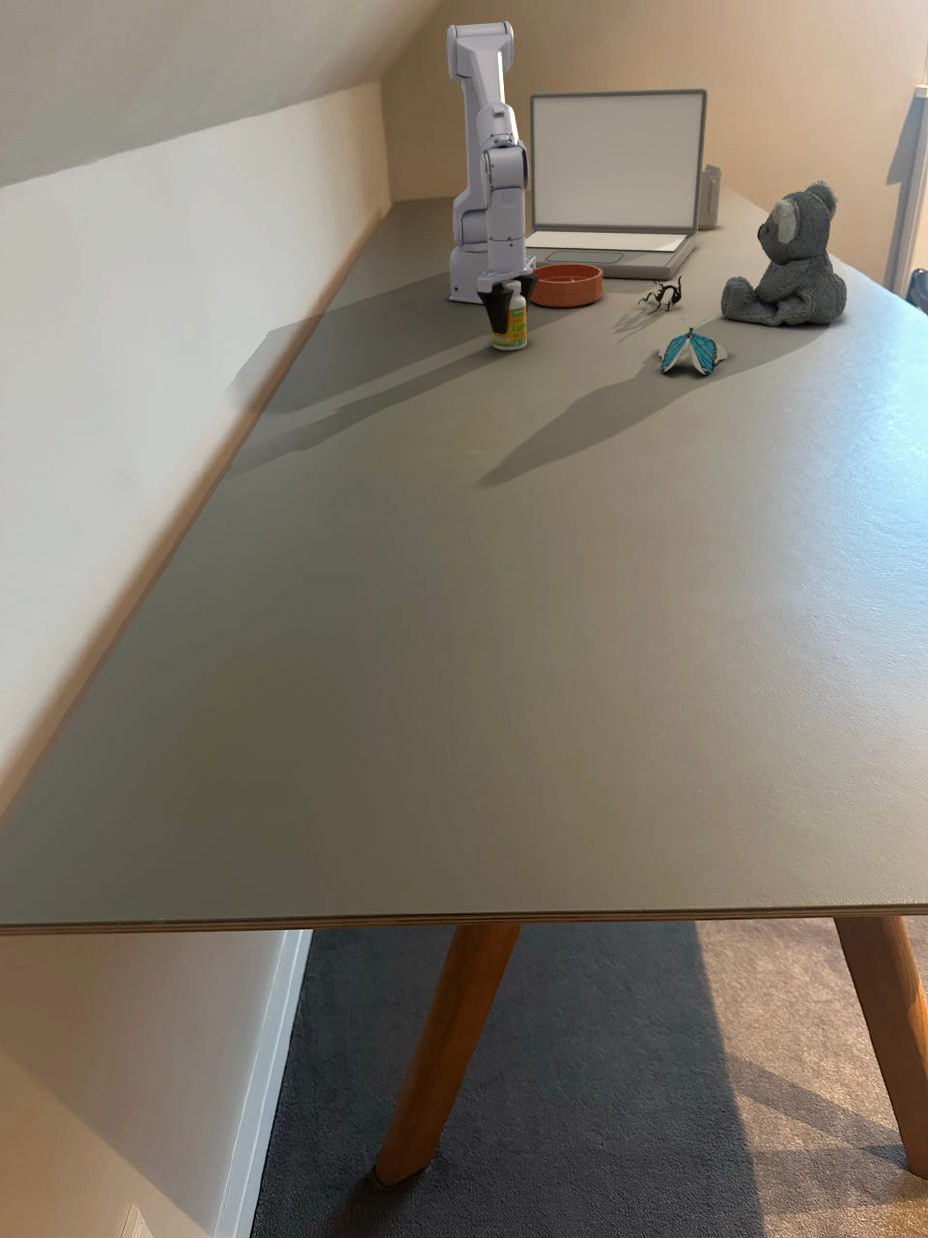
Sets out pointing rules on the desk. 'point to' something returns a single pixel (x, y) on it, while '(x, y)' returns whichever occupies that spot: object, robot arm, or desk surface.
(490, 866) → the desk surface
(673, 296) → the creature
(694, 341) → the decorative butterfly
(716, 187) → the cable organizer
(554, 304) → the bowl
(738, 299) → the koala plush
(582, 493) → the desk surface
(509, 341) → the supplement bottle
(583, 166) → the laptop
